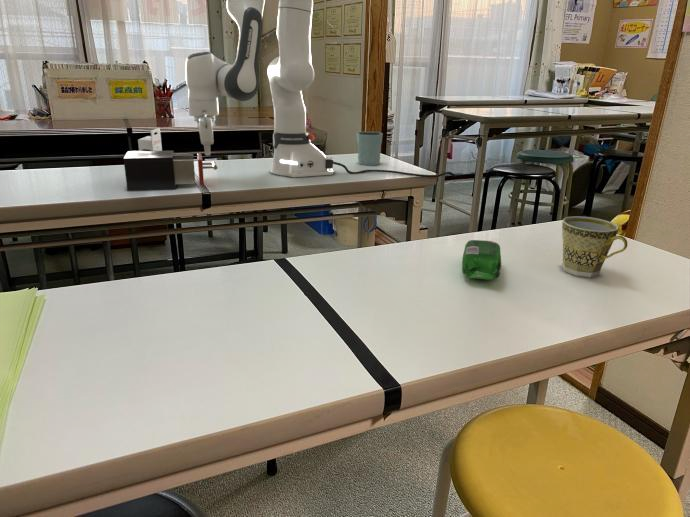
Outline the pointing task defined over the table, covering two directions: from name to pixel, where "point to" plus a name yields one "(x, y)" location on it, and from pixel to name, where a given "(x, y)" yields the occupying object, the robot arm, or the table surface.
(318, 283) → the table surface
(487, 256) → the snack package
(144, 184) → the black drawer casing
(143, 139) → the ink box
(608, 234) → the ceramic cup
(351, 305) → the table surface
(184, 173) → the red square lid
